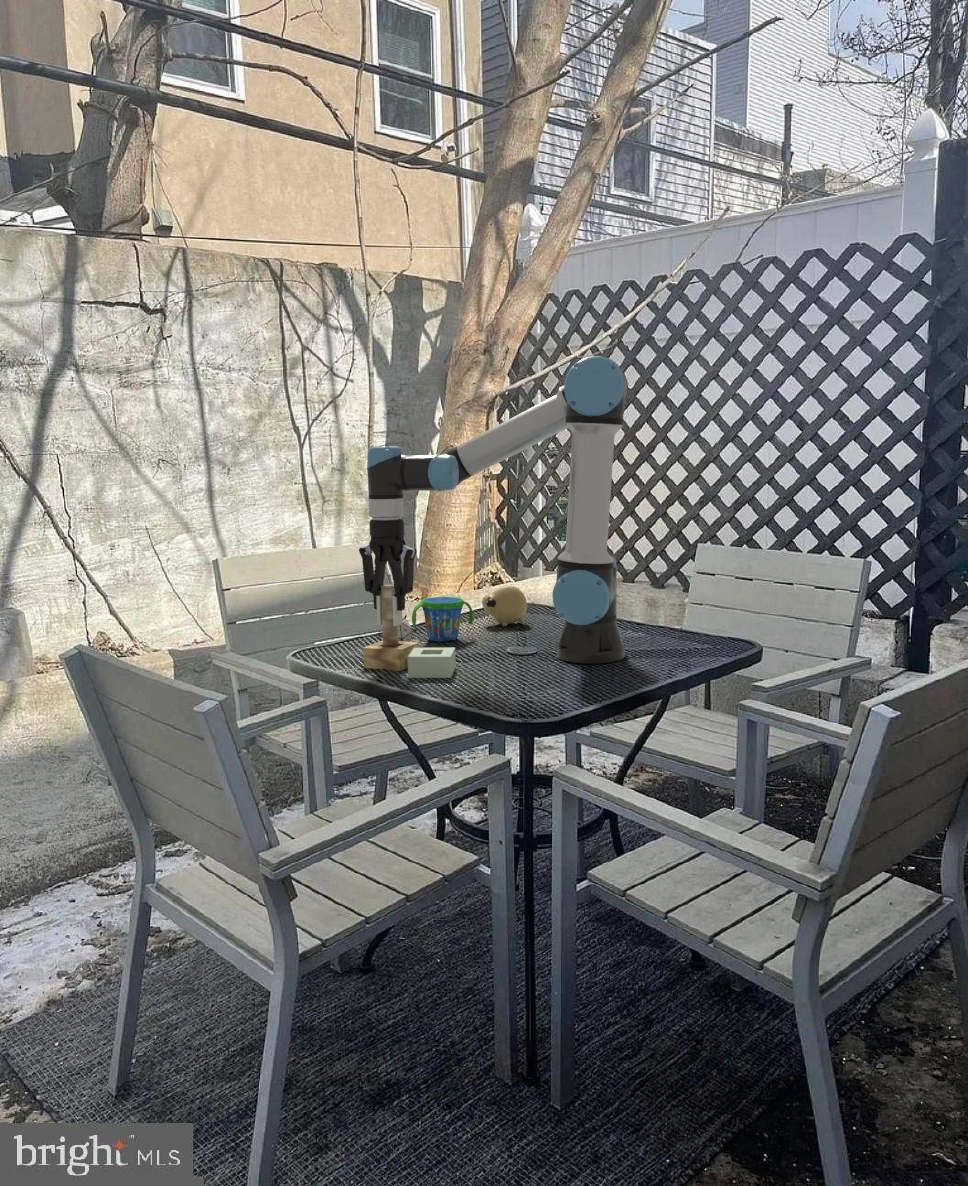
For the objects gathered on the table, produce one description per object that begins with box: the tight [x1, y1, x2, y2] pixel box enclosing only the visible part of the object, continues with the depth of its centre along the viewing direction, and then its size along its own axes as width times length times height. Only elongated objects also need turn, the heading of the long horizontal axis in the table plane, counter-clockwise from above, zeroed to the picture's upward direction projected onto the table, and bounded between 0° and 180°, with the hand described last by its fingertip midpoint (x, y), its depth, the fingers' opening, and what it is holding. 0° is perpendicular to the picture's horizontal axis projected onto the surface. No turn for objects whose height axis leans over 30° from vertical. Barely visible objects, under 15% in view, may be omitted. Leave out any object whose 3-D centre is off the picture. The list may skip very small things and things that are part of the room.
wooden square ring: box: [362, 639, 420, 672], centre depth 205 cm, size 9×9×4 cm
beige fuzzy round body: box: [481, 585, 528, 627], centre depth 249 cm, size 10×12×11 cm
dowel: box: [381, 584, 398, 648], centre depth 204 cm, size 3×3×14 cm
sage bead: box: [407, 647, 457, 679], centre depth 197 cm, size 9×9×4 cm
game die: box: [378, 615, 418, 642], centre depth 221 cm, size 9×8×10 cm
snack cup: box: [411, 596, 474, 643], centre depth 231 cm, size 16×10×10 cm
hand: (389, 624), depth 204 cm, fingers closed on dowel, 3 cm apart
